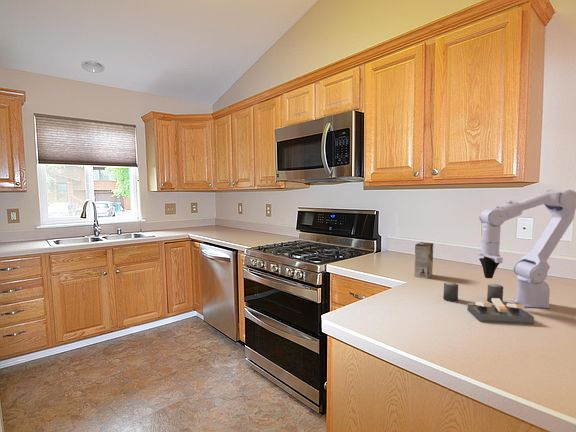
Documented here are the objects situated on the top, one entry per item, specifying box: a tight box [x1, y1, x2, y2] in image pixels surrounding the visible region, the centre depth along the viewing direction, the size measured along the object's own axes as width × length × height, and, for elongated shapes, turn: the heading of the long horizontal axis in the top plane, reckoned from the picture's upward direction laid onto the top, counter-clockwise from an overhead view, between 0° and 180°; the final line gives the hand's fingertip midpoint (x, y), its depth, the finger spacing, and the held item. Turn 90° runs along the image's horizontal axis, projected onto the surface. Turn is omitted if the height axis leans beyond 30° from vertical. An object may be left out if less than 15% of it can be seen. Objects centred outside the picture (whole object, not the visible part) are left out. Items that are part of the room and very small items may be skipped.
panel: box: [466, 302, 535, 325], centre depth 110 cm, size 16×10×3 cm, turn 82°
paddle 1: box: [475, 301, 492, 307], centre depth 111 cm, size 6×2×1 cm, turn 172°
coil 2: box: [486, 283, 504, 304], centre depth 125 cm, size 5×5×6 cm
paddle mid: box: [491, 298, 508, 312], centre depth 110 cm, size 6×2×1 cm, turn 172°
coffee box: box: [414, 241, 434, 279], centre depth 162 cm, size 9×6×16 cm
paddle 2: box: [506, 302, 526, 309], centre depth 110 cm, size 6×2×1 cm, turn 172°
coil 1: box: [442, 281, 459, 303], centre depth 127 cm, size 5×5×6 cm
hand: (488, 277), depth 122 cm, fingers closed
